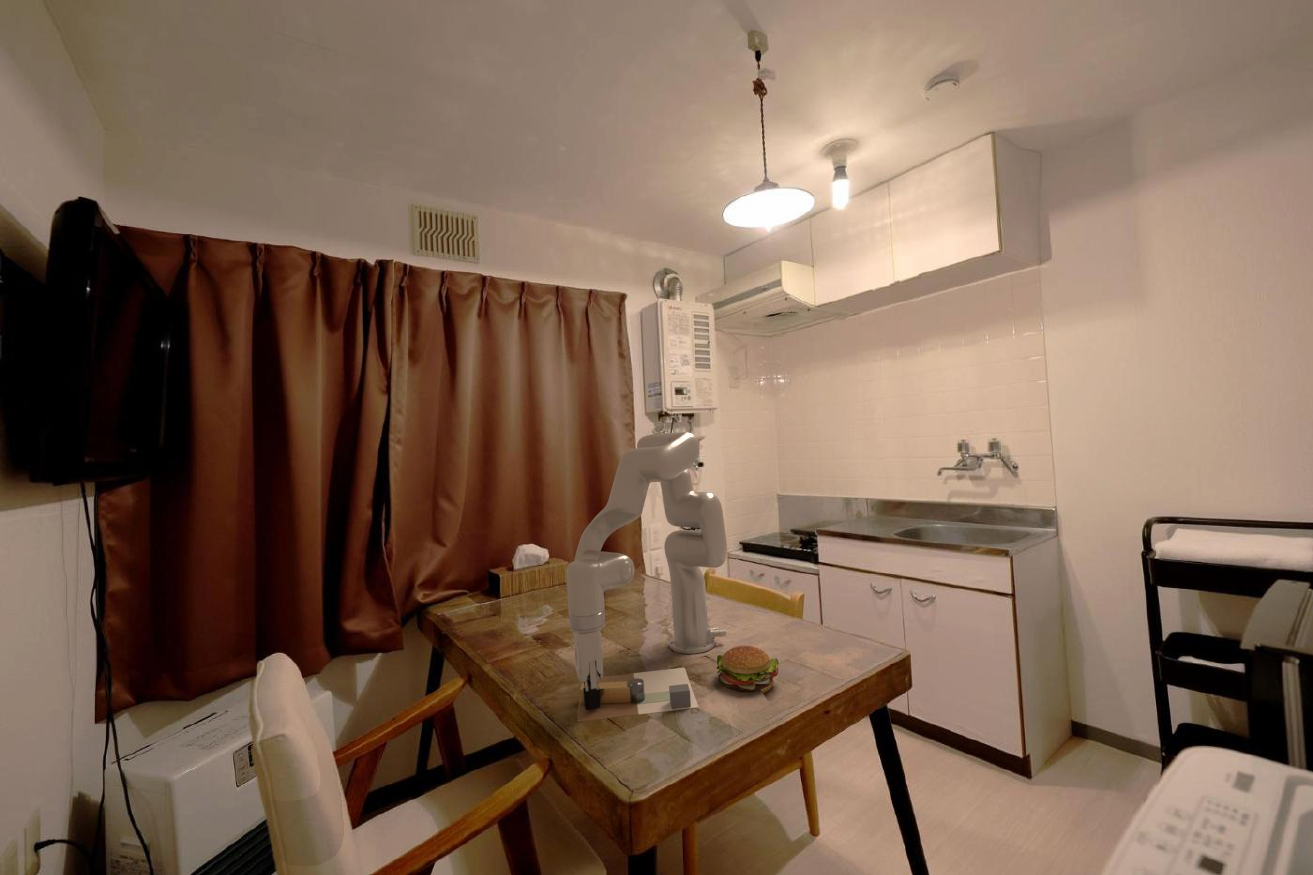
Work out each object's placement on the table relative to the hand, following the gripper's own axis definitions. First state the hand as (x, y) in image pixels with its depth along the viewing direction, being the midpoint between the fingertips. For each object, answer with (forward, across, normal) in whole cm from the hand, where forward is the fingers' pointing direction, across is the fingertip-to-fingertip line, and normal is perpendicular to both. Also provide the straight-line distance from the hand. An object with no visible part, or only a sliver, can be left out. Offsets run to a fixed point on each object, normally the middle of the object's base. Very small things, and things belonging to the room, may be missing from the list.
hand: (592, 707), depth 107 cm
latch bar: (0, -2, +5) cm, 5 cm away
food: (+2, 0, +36) cm, 36 cm away
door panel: (+2, -4, +10) cm, 11 cm away
